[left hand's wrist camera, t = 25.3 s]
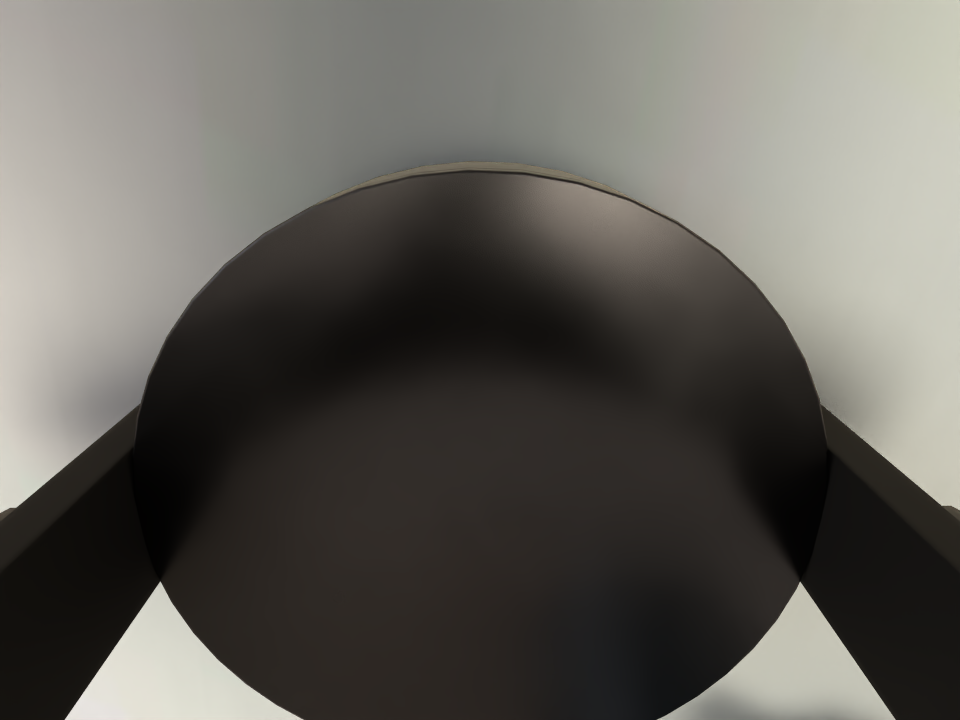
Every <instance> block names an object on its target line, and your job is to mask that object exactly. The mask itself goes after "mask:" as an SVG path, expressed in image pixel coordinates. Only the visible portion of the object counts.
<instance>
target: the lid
mask: <svg viewBox="0 0 960 720" xmlns="http://www.w3.org/2000/svg"><path fill="white" fill-rule="evenodd" d="M132 462H133V484H134V498H135V503H136V507H137V511H138V515H139V520H140V524H141V528H142V533H143V537H144V540H145V544H146V547H147V550H148V553H149V556H150V559H151V561H152V564H153V567H154V570H155V572H156V573H157V575H158V577H159V579H160V581H161V583H162V585H163V587H164V589H165V591H166V592H167V594H168V596H169V598H170V600H171V602H172V603H173V605H174V606H175V608H176V609H177V610H178V612H179V613H180V615H181V616H182V618H183V619H184V620H185V622H186V623H187V625H188V626H189V627H190V629H191V630H192V632H193V633H194V634H195V635H196V636H197V637H198V638H199V640H200V641H201V642H202V643H203V644H204V645H205V646H206V647H207V648H208V649H209V650H210V652H211V653H212V654H213V655H214V656H215V657H216V658H217V659H218V660H219V661H220V662H221V663H222V664H223V665H225V666H226V667H227V668H228V669H229V670H230V671H232V672H233V673H234V674H235V675H236V676H237V677H239V678H240V679H241V680H242V681H243V682H244V683H245V684H247V685H248V686H250V687H251V688H253V689H254V690H255V691H257V692H258V693H260V694H261V695H263V696H264V697H266V698H267V699H269V700H270V701H271V702H273V703H274V704H276V705H277V706H279V707H281V708H283V709H285V710H287V711H289V712H290V713H292V714H294V715H296V716H298V717H300V718H301V719H303V720H657V719H659V718H661V717H663V716H665V715H667V714H669V713H671V712H672V711H674V710H675V709H677V708H679V707H680V706H682V705H684V704H685V703H687V702H689V701H690V700H692V699H694V698H695V697H697V696H698V695H700V694H701V693H702V692H704V691H705V690H706V689H708V688H709V687H710V686H712V685H713V684H714V683H716V682H717V681H718V680H720V679H721V678H722V677H723V676H725V675H726V674H727V673H728V672H729V671H730V670H731V669H733V668H734V667H735V666H736V665H737V664H738V663H739V662H740V661H741V660H742V659H743V658H744V657H745V656H746V655H747V654H748V653H749V652H750V651H751V650H752V649H753V648H754V647H755V646H756V645H757V644H758V642H759V641H760V640H761V639H762V637H763V636H764V635H765V634H766V633H767V631H768V630H769V629H770V628H771V627H772V625H773V624H774V623H775V622H776V620H777V619H778V617H779V616H780V614H781V613H782V611H783V610H784V608H785V606H786V605H787V603H788V602H789V600H790V598H791V597H792V595H793V594H794V592H795V590H796V589H797V587H798V585H799V582H800V580H801V578H802V576H803V574H804V571H805V569H806V567H807V565H808V563H809V560H810V558H811V556H812V553H813V549H814V545H815V542H816V538H817V534H818V530H819V526H820V522H821V518H822V514H823V509H824V504H825V498H826V490H827V483H828V462H827V437H826V432H825V427H824V421H823V416H822V410H821V405H820V399H819V396H818V394H817V391H816V388H815V385H814V382H813V380H812V377H811V374H810V371H809V368H808V366H807V363H806V360H805V358H804V356H803V354H802V352H801V351H800V349H799V347H798V345H797V343H796V342H795V340H794V338H793V336H792V334H791V333H790V331H789V329H788V327H787V325H786V324H785V322H784V320H783V319H782V317H781V316H780V315H779V314H778V312H777V311H776V310H775V308H774V307H773V306H772V305H771V303H770V302H769V301H768V299H767V298H766V297H765V296H764V294H763V293H762V292H761V291H760V289H759V288H758V287H757V285H756V284H755V283H754V282H753V281H752V280H751V279H750V278H749V277H748V276H746V275H745V274H744V273H743V272H742V271H741V270H740V269H739V268H738V267H737V266H736V265H735V264H734V263H733V262H732V261H730V260H729V259H728V258H727V257H726V256H725V255H724V254H723V253H722V252H721V251H720V250H718V249H717V248H715V247H714V246H713V245H711V244H710V243H708V242H707V241H705V240H704V239H702V238H701V237H699V236H698V235H697V234H695V233H694V232H692V231H691V230H689V229H688V228H686V227H685V226H683V225H682V224H681V223H679V222H678V221H676V220H674V219H672V218H670V217H668V216H666V215H664V214H662V213H660V212H658V211H657V210H655V209H653V208H651V207H649V206H647V205H645V204H643V203H641V202H639V201H637V200H635V199H633V198H631V197H629V196H627V195H625V194H623V193H621V192H618V191H616V190H614V189H612V188H610V187H608V186H606V185H603V184H600V183H597V182H594V181H591V180H588V179H585V178H582V177H579V176H576V175H573V174H570V173H567V172H564V171H559V170H553V169H548V168H542V167H537V166H531V165H525V164H520V163H505V162H479V161H467V162H456V163H446V164H436V165H426V166H420V167H416V168H412V169H408V170H404V171H400V172H396V173H391V174H387V175H383V176H379V177H376V178H374V179H371V180H369V181H366V182H364V183H361V184H359V185H356V186H354V187H351V188H349V189H346V190H344V191H341V192H338V193H336V194H334V195H332V196H330V197H328V198H326V199H325V200H323V201H321V202H319V203H317V204H315V205H313V206H311V207H309V208H307V209H306V210H304V211H302V212H300V213H299V214H297V215H295V216H293V217H292V218H290V219H288V220H286V221H285V222H283V223H281V224H279V225H278V226H276V227H274V228H272V229H271V230H269V231H267V232H265V233H264V234H262V235H261V236H260V237H259V238H257V239H256V240H255V241H254V242H252V243H251V244H250V245H248V246H247V247H246V248H245V249H243V250H242V251H241V252H240V253H238V254H237V255H236V256H235V257H233V258H232V259H231V260H229V261H228V262H227V263H226V264H224V266H223V267H222V268H221V269H220V270H219V271H218V272H217V273H216V274H215V275H214V276H213V277H212V278H211V279H210V281H209V282H208V283H207V284H206V285H205V286H204V287H203V288H202V289H201V290H200V291H199V292H198V293H197V294H196V295H195V297H194V298H193V299H192V300H191V302H190V303H189V304H188V306H187V307H186V309H185V310H184V312H183V313H182V315H181V316H180V318H179V319H178V321H177V322H176V324H175V325H174V327H173V328H172V330H171V331H170V333H169V334H168V335H167V337H166V339H165V341H164V344H163V346H162V348H161V350H160V352H159V354H158V356H157V359H156V361H155V363H154V365H153V367H152V369H151V371H150V374H149V376H148V379H147V383H146V386H145V390H144V393H143V397H142V400H141V404H140V408H139V411H138V415H137V420H136V429H135V438H134V447H133V456H132Z"/></svg>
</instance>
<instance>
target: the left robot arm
mask: <svg viewBox="0 0 960 720" xmlns="http://www.w3.org/2000/svg"><path fill="white" fill-rule="evenodd" d="M820 405H821V404H820ZM139 408H140V404H139V405H138V406H137V407H136V408H135V409H134V410H132V411H131V412H130V413H129V414H128V415H126V416H125V417H124V418H123V419H122V420H120V421H119V422H118V423H117V424H116V425H114V426H113V427H112V428H111V429H110V430H109V431H107V432H106V433H105V434H104V435H103V436H101V437H100V438H99V439H98V440H97V441H95V442H94V443H93V444H92V445H91V446H89V447H88V448H87V449H86V450H85V451H84V452H82V453H81V454H80V455H79V456H78V457H76V458H75V459H74V460H73V461H72V462H70V463H69V464H68V465H67V466H66V467H64V468H63V469H62V470H61V471H60V472H59V473H57V474H56V475H55V476H54V477H53V478H51V479H50V480H49V481H48V482H47V483H45V484H44V485H43V486H42V487H41V488H39V489H38V490H37V491H36V492H35V493H34V494H32V495H31V496H30V497H29V498H28V499H26V500H25V501H24V502H23V503H22V504H20V505H19V506H18V507H17V508H9V509H7V510H5V511H3V512H2V513H0V720H65V718H66V717H67V716H68V714H69V713H70V711H71V710H72V708H73V707H74V705H75V704H76V703H77V701H78V700H79V698H80V697H81V695H82V694H83V692H84V691H85V689H86V688H87V687H88V685H89V684H90V682H91V681H92V679H93V678H94V676H95V675H96V674H97V672H98V671H99V669H100V668H101V666H102V665H103V663H104V662H105V661H106V659H107V658H108V656H109V655H110V653H111V652H112V650H113V649H114V647H115V646H116V645H117V643H118V642H119V640H120V639H121V637H122V636H123V634H124V633H125V632H126V630H127V629H128V627H129V626H130V624H131V623H132V621H133V620H134V619H135V617H136V616H137V614H138V613H139V611H140V610H141V608H142V607H143V605H144V604H145V603H146V601H147V600H148V598H149V597H150V595H151V594H152V592H153V591H154V590H155V588H156V587H157V585H158V584H159V582H160V579H159V577H158V575H157V573H156V572H155V570H154V567H153V564H152V561H151V559H150V556H149V553H148V550H147V547H146V544H145V540H144V537H143V533H142V528H141V524H140V520H139V515H138V511H137V507H136V503H135V498H134V484H133V462H132V456H133V447H134V438H135V429H136V420H137V415H138V411H139ZM821 410H822V416H823V421H824V427H825V432H826V437H827V462H828V483H827V490H826V498H825V504H824V509H823V514H822V518H821V522H820V526H819V530H818V534H817V538H816V542H815V545H814V549H813V553H812V556H811V558H810V560H809V563H808V565H807V567H806V569H805V571H804V574H803V576H802V578H801V580H800V582H801V583H802V585H803V586H804V588H805V589H806V590H807V592H808V593H809V595H810V596H811V598H812V599H813V601H814V602H815V603H816V605H817V606H818V608H819V609H820V611H821V612H822V614H823V615H824V616H825V618H826V619H827V621H828V622H829V624H830V625H831V627H832V628H833V630H834V631H835V632H836V634H837V635H838V637H839V638H840V640H841V641H842V643H843V644H844V645H845V647H846V648H847V650H848V651H849V653H850V654H851V656H852V657H853V658H854V660H855V661H856V663H857V664H858V666H859V667H860V669H861V670H862V672H863V673H864V674H865V676H866V677H867V679H868V680H869V682H870V683H871V685H872V686H873V687H874V689H875V690H876V692H877V693H878V695H879V696H880V698H881V699H882V700H883V702H884V703H885V705H886V706H887V708H888V709H889V711H890V712H891V714H892V715H893V716H894V718H895V719H896V720H960V510H958V509H956V508H954V507H952V506H941V505H940V504H939V503H938V502H936V501H935V500H934V499H933V498H932V497H930V496H929V495H928V494H927V493H926V492H925V491H923V490H922V489H921V488H920V487H919V486H917V485H916V484H915V483H914V482H913V481H911V480H910V479H909V478H908V477H907V476H905V475H904V474H903V473H902V472H901V471H900V470H898V469H897V468H896V467H895V466H894V465H892V464H891V463H890V462H889V461H888V460H886V459H885V458H884V457H883V456H882V455H880V454H879V453H878V452H877V451H876V450H875V449H873V448H872V447H871V446H870V445H869V444H867V443H866V442H865V441H864V440H863V439H861V438H860V437H859V436H858V435H857V434H855V433H854V432H853V431H852V430H851V429H850V428H848V427H847V426H846V425H845V424H844V423H842V422H841V421H840V420H839V419H838V418H836V417H835V416H834V415H833V414H832V413H830V412H829V411H828V410H827V409H826V408H825V407H823V406H822V405H821Z"/></svg>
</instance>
